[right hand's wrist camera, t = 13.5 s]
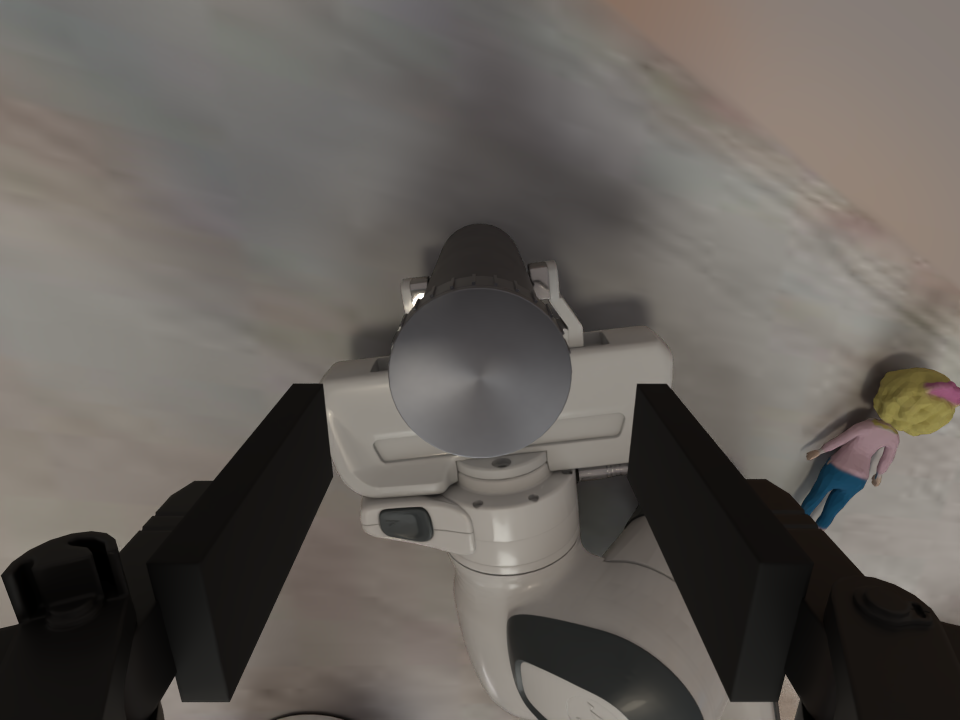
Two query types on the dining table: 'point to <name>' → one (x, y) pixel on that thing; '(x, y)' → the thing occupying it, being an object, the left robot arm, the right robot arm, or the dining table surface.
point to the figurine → (881, 435)
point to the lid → (480, 367)
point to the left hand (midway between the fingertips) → (478, 271)
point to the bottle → (479, 257)
